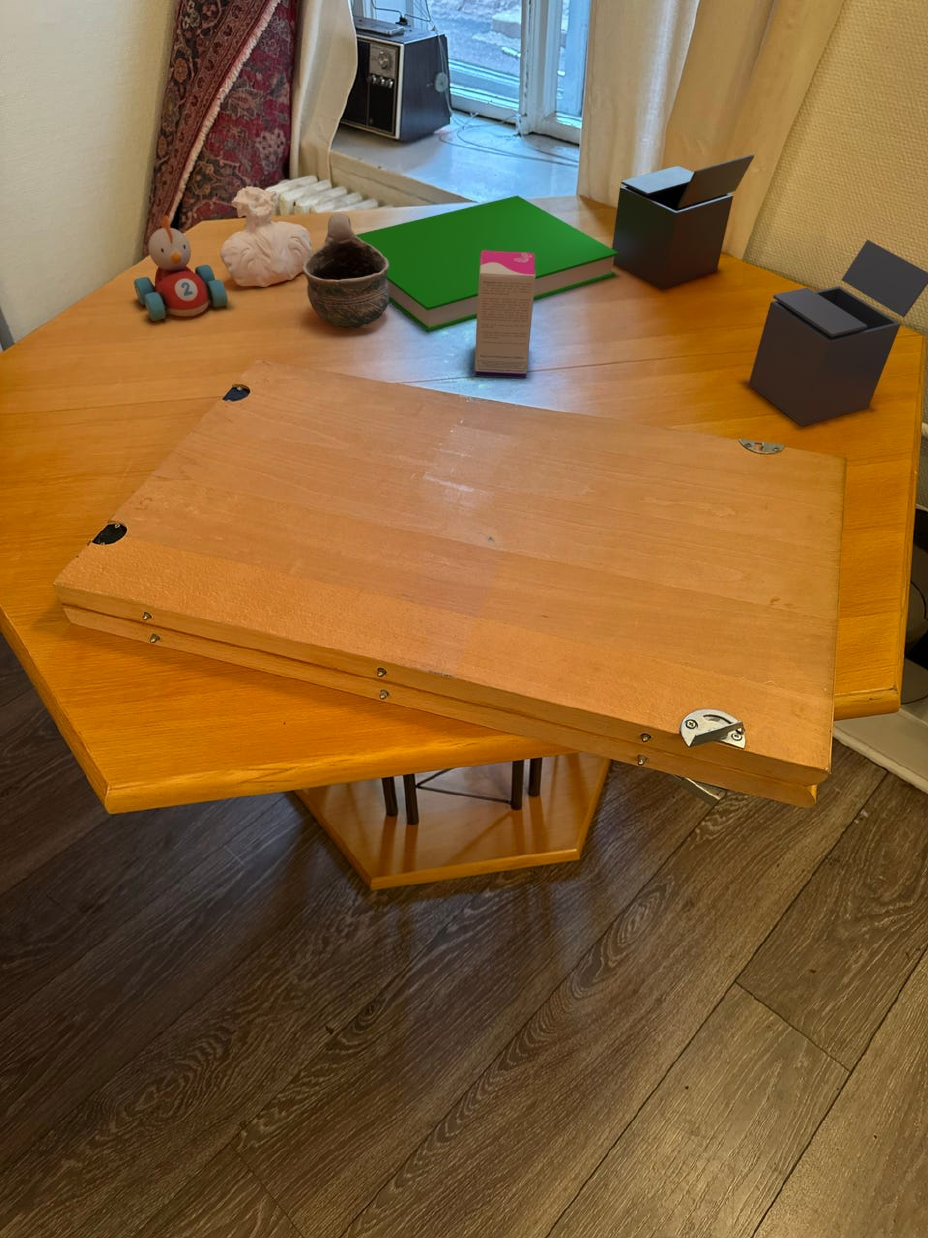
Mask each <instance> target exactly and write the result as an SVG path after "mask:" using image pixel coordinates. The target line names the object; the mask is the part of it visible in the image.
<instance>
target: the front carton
mask: <svg viewBox="0 0 928 1238" xmlns="http://www.w3.org/2000/svg"><path fill="white" fill-rule="evenodd" d="M772 298H773V299H774V300H772V301H770V303H769V308H768V310H767V315H766V319H765V322H764V324H763V329H762V333H761V336H760V340H759V344H758V347H757V351H756V354H755V358H754V363H753V366H752V369H751V373H750V376H749V380H748V383H747V384H748V386H749V387H751V388H752V389H753V390H755V391H756V392H757V393H758V394H759V395H761V396H762V397H763V398H765V399H766V400H767V401H769V403H771V404H772V405H774V406H775V407H776V408H777V409H778V410H780V411H781V412H783V413H784V414H785V415H786V416H788V417H789V418H790V419H791V420H793V421H794V422H795V423H797V424H798V425H799V426H800V427H806V426H808V425H813V424H816V423H820V422H823V421H826V420H831V419H833V418H838V417H841V416H845V415H847V414H852V413H855V412H858V411H862V410H865V409H868V408H870V404H871V402H872V400H873V397H874V394H875V393H876V390H877V387H878V384H879V383H880V382H879V381H880V379H881V376H882V374H883V372H884V369H885V366H886V364H887V361H888V359H889V356H890V354H891V351H892V348H893V346H894V343H895V340H896V338H897V336H898V333H899V331H900V329H901V325H902V323H900V322H899V321H897V320H896V319H894V318H892V317H891V316H889V315H887V314H886V313H884V312H883V311H881V310H879V309H877V308H876V307H874V306H872V305H871V304H870V303H868V302H866V301H864V300H863V299H861V298H860V297H858V296H856V295H855V294H853V293H852V292H850V291H848V290H846V289H845V288H843V287H842V286H840V285H838V286H833V287H830V288H825V289H820V290H816V291H813V290H812V289H811V288H810V287H802V288H798V289H793V290H790V291H784V292H781V293H776V294H773V296H772Z"/></svg>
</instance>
